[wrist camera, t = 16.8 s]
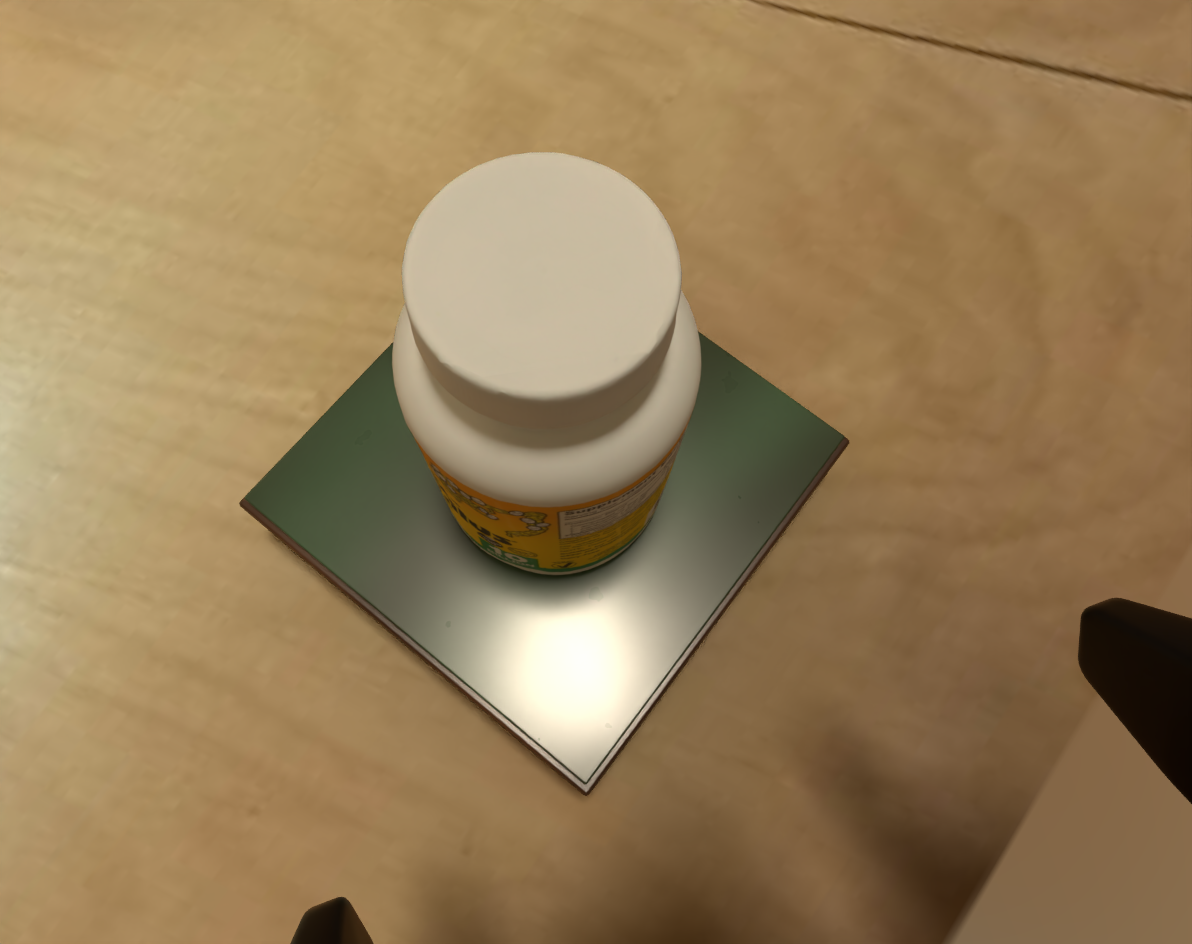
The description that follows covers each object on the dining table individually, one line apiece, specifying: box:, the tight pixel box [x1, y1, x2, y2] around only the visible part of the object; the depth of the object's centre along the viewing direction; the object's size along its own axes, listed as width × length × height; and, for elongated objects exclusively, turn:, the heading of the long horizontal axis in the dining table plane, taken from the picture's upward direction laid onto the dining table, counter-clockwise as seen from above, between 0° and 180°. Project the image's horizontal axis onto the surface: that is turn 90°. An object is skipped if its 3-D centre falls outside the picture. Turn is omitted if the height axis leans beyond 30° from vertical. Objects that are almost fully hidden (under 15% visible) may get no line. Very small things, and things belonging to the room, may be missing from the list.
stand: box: [239, 332, 849, 796], centre depth 23 cm, size 11×11×3 cm
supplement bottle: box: [392, 152, 701, 575], centre depth 17 cm, size 5×5×10 cm
